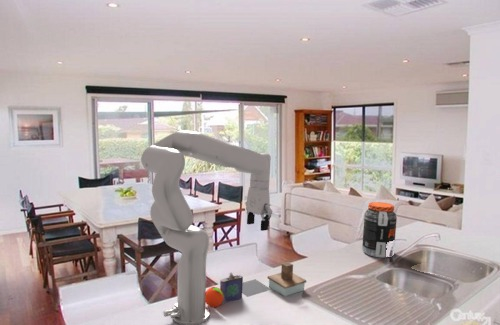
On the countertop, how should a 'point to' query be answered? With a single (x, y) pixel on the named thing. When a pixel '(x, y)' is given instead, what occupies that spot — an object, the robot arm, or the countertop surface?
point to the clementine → (214, 297)
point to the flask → (231, 288)
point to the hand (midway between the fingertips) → (257, 227)
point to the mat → (253, 287)
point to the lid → (286, 277)
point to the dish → (288, 290)
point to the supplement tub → (378, 228)
